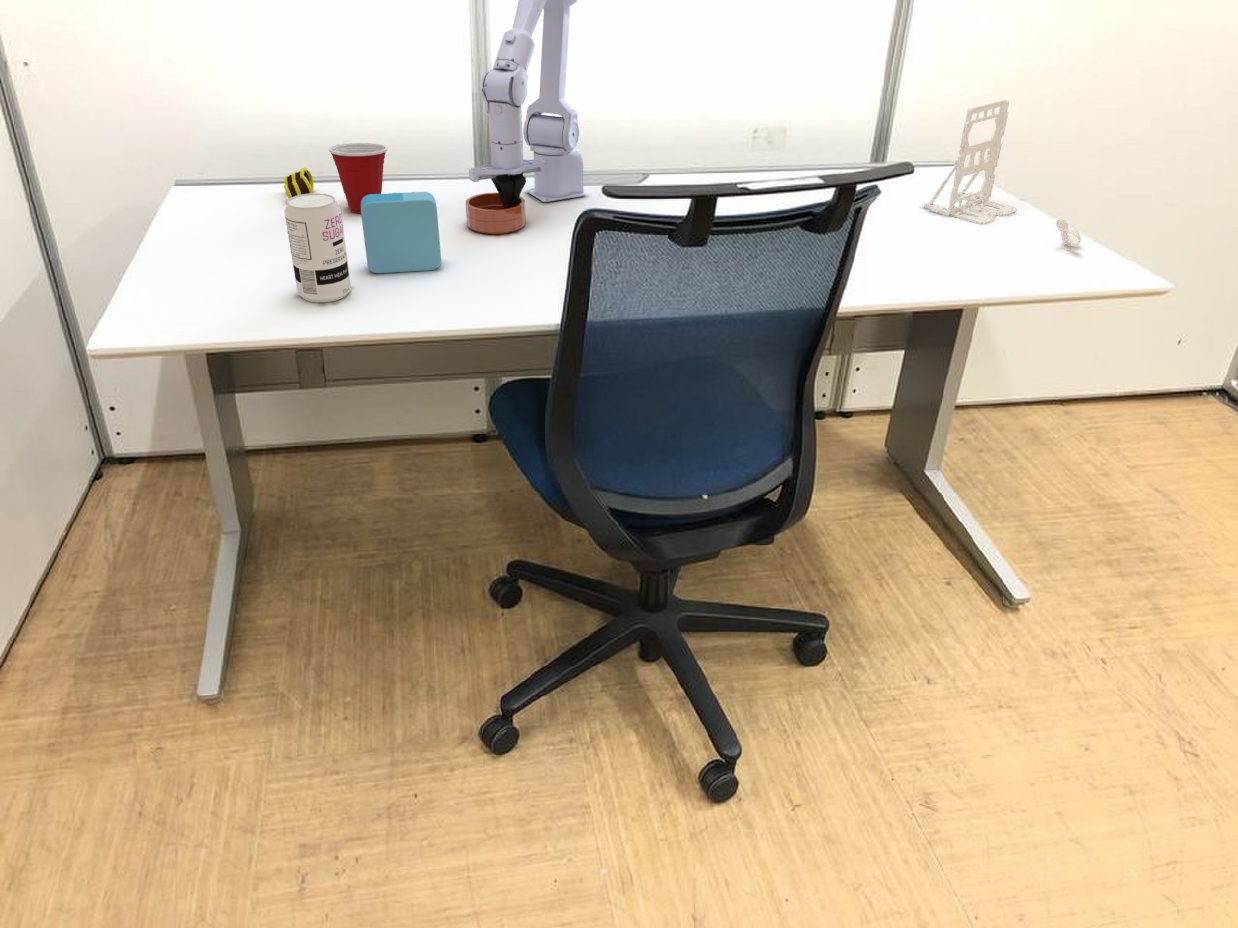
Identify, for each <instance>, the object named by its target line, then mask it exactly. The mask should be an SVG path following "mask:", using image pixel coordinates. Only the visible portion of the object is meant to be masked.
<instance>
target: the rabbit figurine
mask: <svg viewBox="0 0 1238 928" xmlns="http://www.w3.org/2000/svg"><path fill="white" fill-rule="evenodd" d="M1055 226H1056V228H1057V229H1058V231H1060V238H1061V240H1062V241H1063V243H1064V244H1065V245H1067V246H1069V247H1075V248H1077V247H1079V246H1080V243H1081V240H1082V237H1081V233H1080V232H1079V231H1078V230H1077V229H1076V228H1074V227H1073V226H1069V224H1068V222H1067V220H1065V219H1063V218H1057V219H1056V221H1055ZM1069 247H1068V248H1067V247H1064V246H1060V249H1062V250H1065V251H1070V248H1069Z"/></svg>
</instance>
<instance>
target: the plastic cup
mask: <svg viewBox="0 0 1238 928" xmlns="http://www.w3.org/2000/svg"><path fill="white" fill-rule="evenodd" d="M388 148H389V147H388V146H387V145H385V144H381V143H380V144H379V143H372V142H370V143H369V142H351V143H342V144H335V145H332V146H330V147H328V152H329V153H330V155H331V156H332V159H333V161H334V165H335V167H336V171H337V173H338V177H339V181H340V184H341V187H342V191H343V194H344V196H345V199H346V202H347V206H348V208H349V211H350V212H352V213H355V214H361V201H362V199H363V198H364V197H365V196H366V195H370V194H382V191H383V181H384V180H383V179H384V178H383V177H384V164H385V159H386V153H387V151H388Z"/></svg>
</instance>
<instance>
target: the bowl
mask: <svg viewBox="0 0 1238 928" xmlns="http://www.w3.org/2000/svg"><path fill="white" fill-rule="evenodd" d="M465 216H466V225H467V227H468V228H469V229H471V230H473V231H475V232H477V233H480V234H487V235H502V234H503V235H504V234H509V233H513V232H516V231H519V230H520V229H522V228H523V227H524V226H525V225H526V222H527V221H526V200H525V199H524V198H523V197H522V196H521V195H520V196H519V199H518V203H517V206H516V207H513V208H508V209H504V208H503V204H502V201H501V198H500V196H499V193H498V192H483V193H479V194H478V193H477V194H475V195H473V196H470V197H468V198H467V199H466V200H465Z"/></svg>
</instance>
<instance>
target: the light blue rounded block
mask: <svg viewBox="0 0 1238 928" xmlns="http://www.w3.org/2000/svg"><path fill="white" fill-rule="evenodd" d="M360 214H361V216H360V217H361V223H362V232H363V241H364V246H365V248H364V249H365V255H366V264H367V268H368V269H369V270H370V271H371V272H372V273H374V274H389V273H390V274H393V273H406V272H423V271H434V270H436V269H438V268H439V267H440V265H441V264H442V254H441V243H440V242H441V241H440V231H439V218H438V207H437V202H436V198H435V196H434V195H433V194H432V193H430V192H429V191H413V192H391V193H390V192H389V193H381V194H370V195H366V196H365V197H364V198H363V199H362V201H361V213H360Z"/></svg>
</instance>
